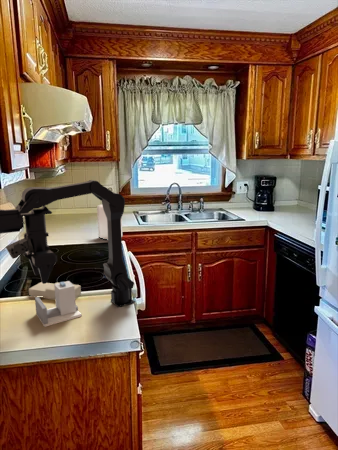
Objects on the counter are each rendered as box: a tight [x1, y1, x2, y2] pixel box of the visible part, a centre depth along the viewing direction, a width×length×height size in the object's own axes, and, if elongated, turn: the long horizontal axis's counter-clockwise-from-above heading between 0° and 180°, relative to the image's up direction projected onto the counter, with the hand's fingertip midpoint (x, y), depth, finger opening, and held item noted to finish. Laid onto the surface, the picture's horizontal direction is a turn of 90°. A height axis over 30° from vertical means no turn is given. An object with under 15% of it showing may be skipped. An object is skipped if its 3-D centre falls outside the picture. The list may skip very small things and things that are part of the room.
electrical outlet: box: [28, 281, 82, 300], centre depth 127 cm, size 7×4×18 cm
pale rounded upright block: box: [96, 203, 123, 239], centre depth 208 cm, size 15×14×22 cm
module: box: [53, 280, 77, 316], centre depth 112 cm, size 5×6×10 cm
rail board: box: [34, 297, 82, 327], centre depth 111 cm, size 12×10×6 cm
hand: (40, 279), depth 104 cm, fingers open, 9 cm apart
